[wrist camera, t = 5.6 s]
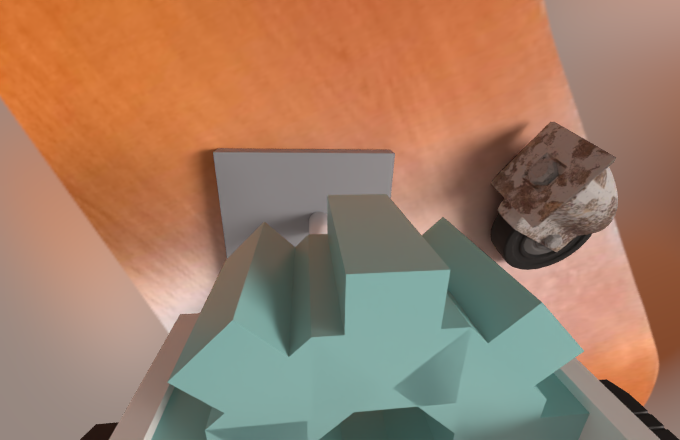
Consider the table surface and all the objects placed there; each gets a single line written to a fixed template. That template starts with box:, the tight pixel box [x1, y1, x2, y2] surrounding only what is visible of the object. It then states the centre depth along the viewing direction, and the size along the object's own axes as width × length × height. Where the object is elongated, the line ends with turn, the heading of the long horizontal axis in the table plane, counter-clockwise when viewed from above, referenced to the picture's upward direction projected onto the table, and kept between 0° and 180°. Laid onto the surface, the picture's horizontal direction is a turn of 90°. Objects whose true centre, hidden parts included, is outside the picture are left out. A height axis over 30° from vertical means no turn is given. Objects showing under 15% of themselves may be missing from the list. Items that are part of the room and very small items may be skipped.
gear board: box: [213, 148, 395, 259], centre depth 27 cm, size 22×14×8 cm, turn 179°
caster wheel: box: [491, 122, 618, 270], centre depth 28 cm, size 7×11×10 cm
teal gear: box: [151, 194, 590, 440], centre depth 10 cm, size 11×11×5 cm
